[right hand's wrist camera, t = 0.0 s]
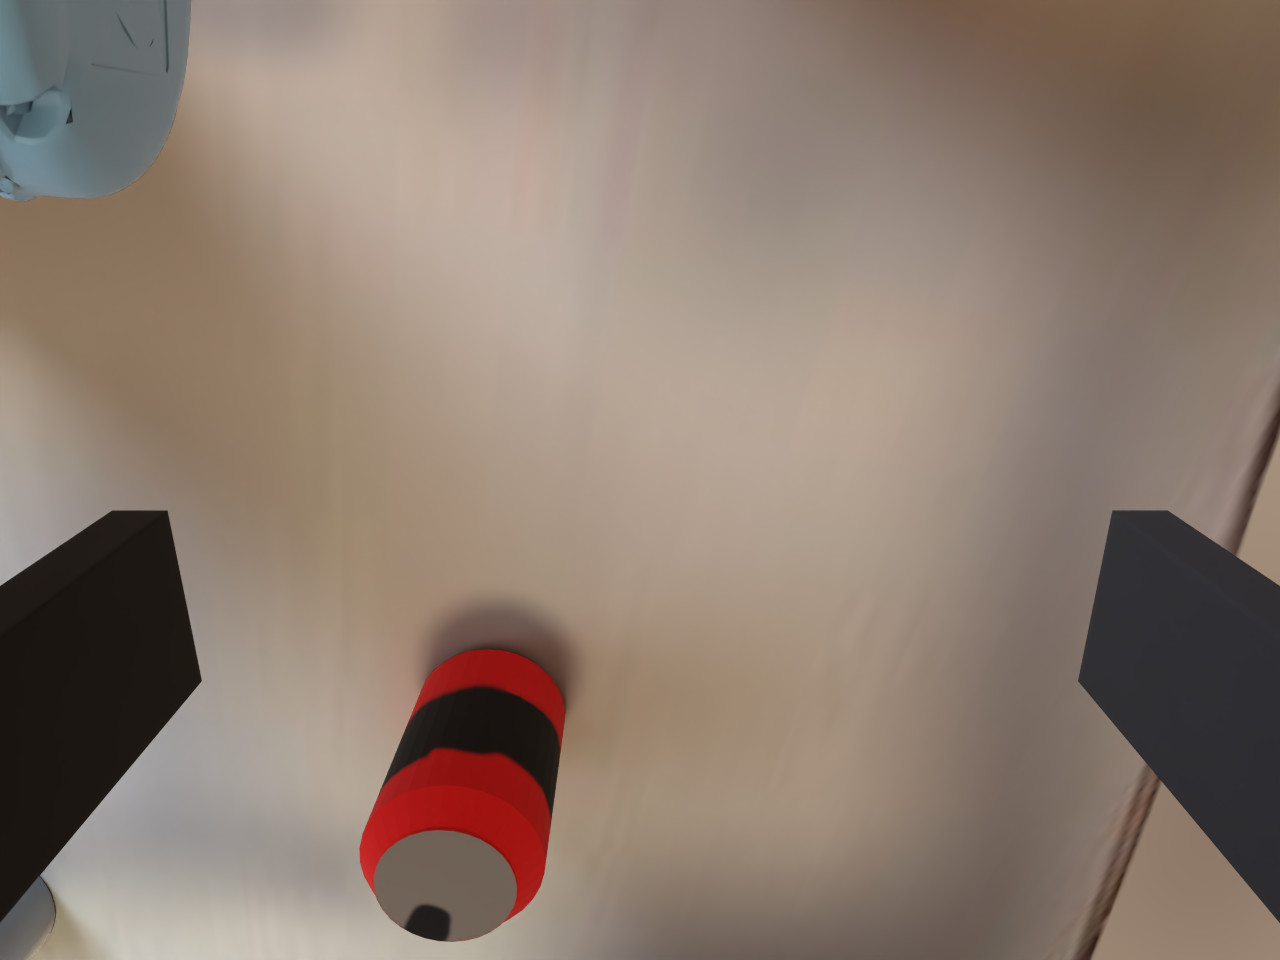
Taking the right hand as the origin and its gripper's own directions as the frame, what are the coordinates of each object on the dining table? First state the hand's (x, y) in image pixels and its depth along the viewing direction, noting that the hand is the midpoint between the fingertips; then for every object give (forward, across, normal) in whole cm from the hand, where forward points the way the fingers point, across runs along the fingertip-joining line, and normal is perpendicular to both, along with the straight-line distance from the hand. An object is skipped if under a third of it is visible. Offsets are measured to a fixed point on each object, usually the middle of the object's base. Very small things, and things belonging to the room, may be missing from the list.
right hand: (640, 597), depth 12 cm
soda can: (+28, +8, +21) cm, 36 cm away
